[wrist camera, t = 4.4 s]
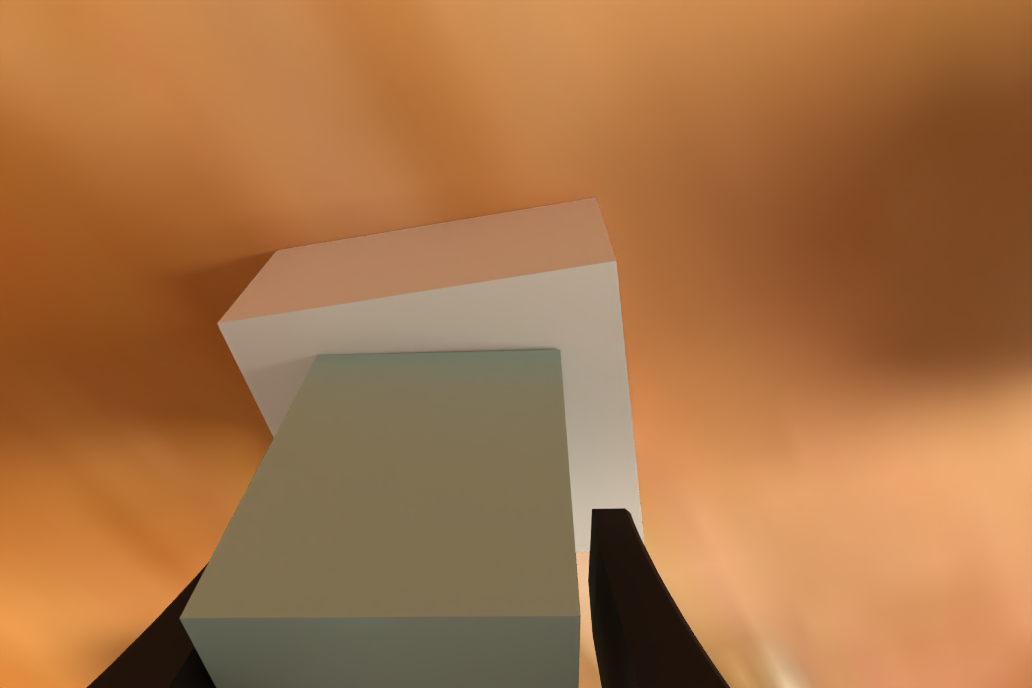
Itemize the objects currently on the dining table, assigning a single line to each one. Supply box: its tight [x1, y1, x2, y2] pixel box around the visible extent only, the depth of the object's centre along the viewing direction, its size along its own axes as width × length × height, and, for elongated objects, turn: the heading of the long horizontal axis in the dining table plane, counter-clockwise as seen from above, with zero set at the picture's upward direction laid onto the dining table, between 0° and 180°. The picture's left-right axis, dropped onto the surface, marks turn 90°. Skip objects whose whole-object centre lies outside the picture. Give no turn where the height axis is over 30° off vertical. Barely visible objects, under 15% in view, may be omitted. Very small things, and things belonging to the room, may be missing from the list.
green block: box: [180, 350, 580, 688], centre depth 12 cm, size 5×5×6 cm
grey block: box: [217, 197, 644, 553], centre depth 16 cm, size 8×8×4 cm
